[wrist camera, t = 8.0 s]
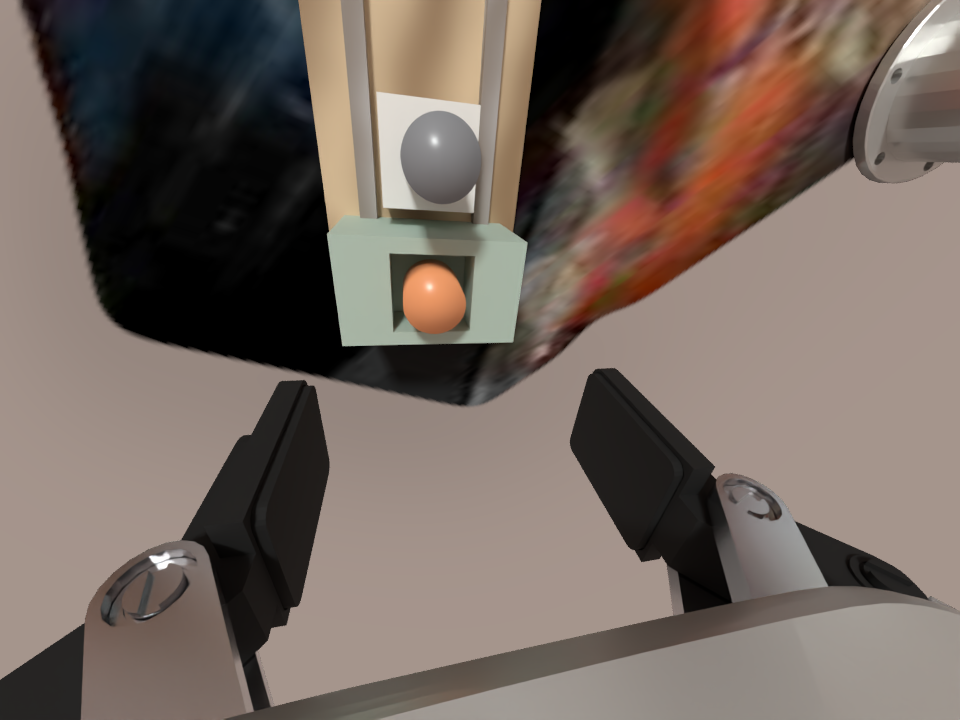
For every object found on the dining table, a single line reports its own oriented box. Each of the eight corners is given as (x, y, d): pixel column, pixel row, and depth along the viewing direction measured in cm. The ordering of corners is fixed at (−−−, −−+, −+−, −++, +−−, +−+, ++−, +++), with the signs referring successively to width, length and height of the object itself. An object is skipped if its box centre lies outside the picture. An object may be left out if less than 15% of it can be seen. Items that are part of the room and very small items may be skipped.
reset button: (459, 259, 20) (467, 275, 17) (456, 312, 21) (464, 333, 19) (401, 258, 19) (401, 274, 16) (403, 312, 20) (404, 334, 18)
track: (547, -128, 17) (579, -187, 14) (499, 299, 28) (510, 316, 25) (278, -204, 14) (246, -298, 11) (342, 298, 25) (334, 317, 22)
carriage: (470, 111, 20) (514, 84, 12) (465, 206, 22) (499, 233, 14) (379, 100, 18) (365, 62, 11) (384, 201, 21) (376, 227, 13)
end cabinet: (494, 219, 25) (527, 242, 18) (487, 299, 28) (513, 342, 21) (341, 211, 22) (318, 233, 16) (351, 298, 25) (334, 346, 19)
